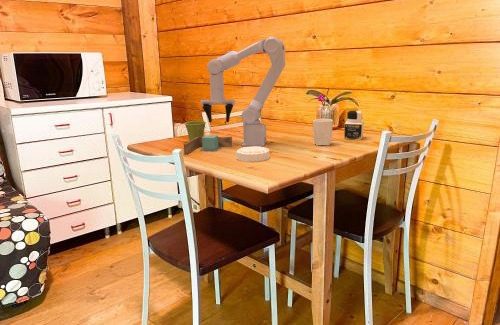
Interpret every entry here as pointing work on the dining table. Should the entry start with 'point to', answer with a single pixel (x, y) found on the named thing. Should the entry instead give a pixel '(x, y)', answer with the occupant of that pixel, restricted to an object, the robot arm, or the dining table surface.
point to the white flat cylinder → (253, 154)
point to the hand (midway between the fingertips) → (219, 121)
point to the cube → (210, 142)
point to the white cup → (322, 131)
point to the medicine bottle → (354, 126)
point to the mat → (211, 150)
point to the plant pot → (195, 129)
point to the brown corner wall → (197, 143)
